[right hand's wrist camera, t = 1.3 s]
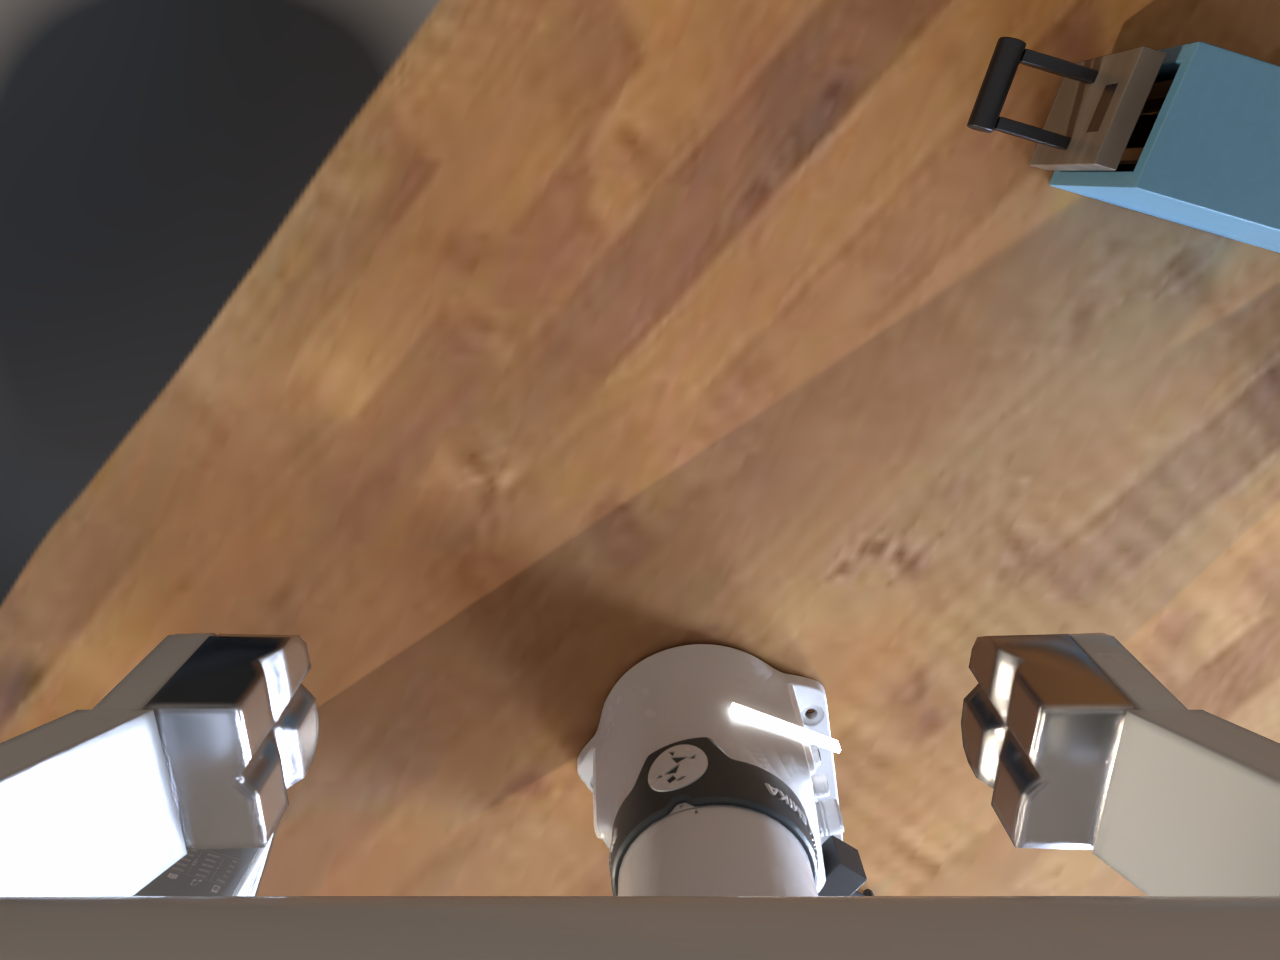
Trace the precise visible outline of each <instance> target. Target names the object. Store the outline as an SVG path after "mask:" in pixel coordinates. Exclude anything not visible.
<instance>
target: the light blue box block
mask: <svg viewBox="0 0 1280 960" xmlns="http://www.w3.org/2000/svg"><path fill="white" fill-rule="evenodd" d="M1159 51H1161V52H1165V53H1166V56H1165V58H1164V61H1163V63H1162V65H1161V68H1160V70H1159V72H1158V74H1157V77H1156V79H1155V81H1154V83H1155V82H1161V81H1167V80H1173V79H1174V80H1173V83H1172V85H1171V87H1170V89H1169V92H1168V94H1167V96H1166V99H1165V101H1164V103H1163V105H1162V108H1161V110H1160V112H1159V114H1158V117H1157V119H1156V121H1155V124H1154V126H1153V128H1152V130H1151V133H1150V135H1149V137H1148V140H1147V142H1146V144H1145V146H1144V149H1143V151H1142V153H1141V156H1140V158H1139V160H1138V162H1137V165H1136V167H1135V169H1134V171H1054V173H1053V175H1052V178H1051V180H1050V183H1049V185H1050V186H1053V187H1057V188H1060V189H1063V190H1067V191H1070V192H1074V193H1077V194H1080V195H1084V196H1087V197H1091V198H1094V199H1098V200H1101V201H1104V202H1108V203H1111V204H1115V205H1118V206H1121V207H1125V208H1128V209H1132V210H1135V211H1138V212H1142V213H1145V214H1149V215H1152V216H1155V217H1159V218H1162V219H1166V220H1169V221H1172V222H1176V223H1179V224H1183V225H1186V226H1189V227H1193V228H1196V229H1200V230H1203V231H1207V232H1210V233H1213V234H1217V235H1220V236H1224V237H1227V238H1230V239H1234V240H1237V241H1241V242H1244V243H1247V244H1251V245H1254V246H1258V247H1261V248H1264V249H1268V250H1271V251H1275V252H1278V253H1280V66H1278V65H1274V64H1271V63H1268V62H1265V61H1262V60H1259V59H1255V58H1252V57H1249V56H1246V55H1243V54H1240V53H1236V52H1233V51H1230V50H1227V49H1224V48H1220V47H1217V46H1214V45H1211V44H1208V43H1205V42H1201V41H1198V42H1194V43H1189V44H1185V45H1180V46H1176V47H1172V48H1167V49H1163V50H1159Z"/></svg>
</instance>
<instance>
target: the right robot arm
mask: <svg viewBox="0 0 1280 960" xmlns="http://www.w3.org/2000/svg"><path fill="white" fill-rule="evenodd" d="M310 669H311V664H310V659H309V654H308V648H307V643H306V642H305V641H304V640H303V639H302V638H301V637H300V636H299V635H256V634H214V633H193V634H175V635H169V636H167V637H166V638H165V639H164V640H163V641H162V642H161V643H160V644H159V645H158V646H157V647H156V648H155V649H154V650H153V651H152V652H150V653H149V654H148V655H147V656H146V657H145V658H144V659H143V660H142V661H141V662H140V663H139V664H138V665H137V666H136V667H135V668H134V669H133V670H132V671H131V672H130V673H129V674H128V675H127V676H126V677H125V678H124V679H123V680H122V681H121V682H120V683H119V684H118V685H117V686H116V687H115V688H114V689H113V690H112V691H111V692H109V693H108V694H107V695H106V696H105V697H104V698H103V699H102V700H101V701H100V702H99V703H98V704H97V705H96V706H95V707H94V708H93V709H92V710H76V711H74V712H72V713H70V714H67V715H65V716H63V717H60V718H58V719H56V720H53V721H51V722H49V723H46V724H44V725H42V726H40V727H37V728H35V729H33V730H30V731H28V732H26V733H23V734H21V735H19V736H17V737H14V738H12V739H10V740H7V741H5V742H3V743H0V960H1280V744H1279V743H1277V742H1275V741H1273V740H1270V739H1268V738H1266V737H1263V736H1261V735H1259V734H1256V733H1254V732H1252V731H1250V730H1247V729H1245V728H1243V727H1240V726H1238V725H1236V724H1233V723H1231V722H1229V721H1227V720H1224V719H1222V718H1220V717H1217V716H1215V715H1213V714H1210V713H1208V712H1206V711H1204V710H1188V709H1187V708H1186V707H1185V706H1184V705H1183V704H1182V703H1181V702H1180V701H1179V700H1178V699H1177V698H1176V697H1175V696H1174V695H1173V694H1172V693H1171V692H1170V691H1169V690H1168V689H1167V688H1166V687H1164V686H1163V685H1162V684H1161V683H1160V682H1159V681H1158V680H1157V679H1156V678H1155V677H1154V676H1153V675H1152V674H1151V673H1150V672H1149V671H1148V670H1147V669H1146V668H1145V667H1144V666H1143V665H1142V664H1141V663H1140V662H1139V661H1138V660H1137V659H1136V658H1135V657H1134V656H1133V655H1132V654H1131V653H1130V652H1129V651H1128V650H1127V649H1126V648H1125V647H1124V646H1123V645H1122V644H1121V643H1120V642H1119V641H1117V640H1116V639H1115V638H1114V637H1113V636H1110V635H1107V634H1105V633H1085V634H1051V635H1011V636H983V637H977V639H976V641H975V644H974V646H973V648H972V652H971V657H970V663H969V669H970V670H971V672H972V673H973V675H974V676H975V678H976V679H977V681H978V682H979V684H978V685H977V686H976V687H975V688H974V689H973V690H972V691H971V692H970V693H969V694H968V695H967V696H966V697H965V698H964V701H963V710H962V718H961V729H962V740H963V747H964V750H965V754H966V757H967V760H968V763H969V765H970V767H971V769H972V770H973V772H974V774H975V776H976V778H978V779H979V780H981V781H982V782H984V783H985V784H987V785H989V786H990V787H992V788H993V789H994V791H993V796H992V802H991V805H992V807H993V809H994V811H995V812H996V814H997V816H998V818H999V819H1000V821H1001V823H1002V825H1003V827H1004V828H1005V830H1006V832H1007V834H1008V835H1009V837H1010V839H1011V841H1012V843H1013V844H1014V846H1015V848H1047V849H1083V850H1093V854H1094V855H1096V856H1097V857H1098V858H1099V859H1101V860H1102V861H1103V862H1105V863H1106V864H1107V865H1108V866H1110V867H1111V868H1112V869H1114V870H1115V871H1116V872H1117V873H1119V874H1120V875H1121V876H1123V877H1124V878H1125V879H1127V880H1128V881H1129V882H1130V883H1132V884H1133V885H1134V886H1136V887H1137V888H1138V889H1139V890H1141V891H1142V892H1143V893H1145V894H1146V895H1147V896H874V894H873V892H872V891H871V890H869V889H867V890H865V891H864V892H863V894H861V893H860V892H858V891H857V889H858V888H859V887H860V886H861V885H862V884H863V883H864V882H865V881H866V880H867V878H866V875H865V872H864V869H863V865H862V862H861V859H860V856H859V853H858V850H856V849H855V848H853V847H851V846H850V845H848V844H846V843H845V842H843V834H842V833H843V832H844V826H843V821H842V816H841V812H840V808H839V800H838V792H837V784H836V775H835V767H834V758H833V752H836V753H840V751H841V748H840V745H839V742H838V740H835V739H832V738H831V733H830V725H829V716H828V708H827V700H826V694H825V689H824V687H823V686H822V684H820V683H819V682H818V681H816V680H813V679H810V678H806V677H802V676H797V675H792V674H785V673H782V672H780V671H778V670H776V669H774V668H772V667H771V666H769V665H768V664H766V663H765V662H763V661H761V660H760V659H758V658H756V657H754V656H753V655H750V654H748V653H746V652H743V651H741V650H738V649H734V648H731V647H726V646H721V645H712V644H692V645H684V646H678V647H674V648H670V649H666V650H663V651H661V652H658V653H656V654H653V655H651V656H649V657H647V658H645V659H644V660H642V661H640V662H639V663H637V664H636V665H635V666H633V667H632V668H631V669H629V670H628V671H627V672H626V673H625V674H624V675H623V676H622V677H621V678H620V679H619V680H618V681H617V683H616V684H615V685H614V687H613V688H612V690H611V691H610V693H609V695H608V697H607V699H606V701H605V704H604V706H603V709H602V713H601V718H600V722H599V726H598V729H597V731H596V734H595V735H594V736H593V737H592V739H591V740H590V741H589V742H588V743H587V745H586V746H585V747H584V748H583V750H582V751H581V753H580V754H579V756H578V759H577V771H578V775H579V776H580V778H581V779H582V781H583V782H584V783H585V784H586V786H587V787H588V788H589V789H590V791H591V792H592V793H593V800H594V829H595V833H596V836H597V837H598V838H600V839H603V841H604V843H605V844H606V846H607V847H608V848H609V849H610V852H609V868H610V874H611V885H612V891H613V895H614V896H133V895H134V894H136V893H137V892H138V891H140V890H141V889H142V888H143V887H145V886H146V885H147V884H149V883H150V882H151V881H153V880H154V879H155V878H156V877H158V876H159V875H160V874H162V873H163V872H164V871H165V870H167V869H168V868H169V867H171V866H172V865H173V864H174V863H176V862H177V861H178V860H180V859H181V858H182V857H184V856H185V855H186V854H187V850H196V849H232V848H265V846H266V845H267V843H268V841H269V839H270V837H271V836H272V834H273V832H274V830H275V828H276V827H277V825H278V823H279V821H280V820H281V818H282V816H283V814H284V812H285V811H286V809H287V807H288V805H289V802H288V796H287V791H286V789H287V788H288V787H290V786H291V785H293V784H295V783H296V782H298V781H299V780H301V779H302V778H304V776H305V774H306V772H307V770H308V768H309V767H310V765H311V763H312V761H313V757H314V753H315V749H316V745H317V740H318V731H319V715H318V708H317V701H316V698H315V697H314V696H313V695H312V694H311V693H310V692H309V691H308V690H307V689H306V688H305V687H304V686H303V685H302V684H301V683H302V681H303V679H304V678H305V676H306V675H307V673H308V672H309V670H310ZM809 709H815V710H814V711H813V712H812V713H806V711H807V710H809Z"/></svg>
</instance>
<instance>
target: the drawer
mask: <svg viewBox="0 0 1280 960" xmlns="http://www.w3.org/2000/svg"><path fill="white" fill-rule="evenodd" d="M1025 46H1026V43H1025V42H1023V41H1022V40H1019V39H1016V38H1011V37H1001V38H999V40H998V42H997V45H996V48H995V50H994V53H993V56H992V59H991V61H990V64H989V67H988V69H987V72H986V75H985V78H984V80H983V83H982V86H981V88H980V91H979V94H978V97H977V99H976V102H975V105H974V107H973V110H972V113H971V116H970V118H969V121H968V124H967V126H968V127H969V128H971V129H974V130H977V131H981V132H987V133H991V132H993V131H994V130H996V131H999V132H1003V133H1006V134H1009V135H1013V136H1016V137H1020V138H1023V139H1026V140H1030V141H1033V142H1036V143H1037V145H1036V148H1035V150H1034V153H1033V155H1032V158H1031V160H1030V163H1029V165H1030V166H1033V167H1037V168H1040V169H1043V170H1047V171H1134V169H1135V167H1136V165H1137V162H1138V160H1139V158H1140V156H1141V153H1142V151H1143V149H1144V146H1145V144H1146V142H1147V140H1148V137H1149V135H1150V133H1151V130H1152V128H1153V126H1154V124H1155V121H1156V119H1157V117H1158V114H1159V112H1160V110H1161V108H1162V105H1163V103H1164V101H1165V99H1166V96H1167V94H1168V92H1169V89H1170V87H1171V85H1172V83H1173V80H1174V79H1173V80H1167V81H1161V82H1155V83H1154V81H1155V79H1156V77H1157V74H1158V72H1159V70H1160V68H1161V65H1162V63H1163V61H1164V58H1165V56H1166V53H1165V52H1161V51H1158V50H1155V49H1152V48H1149V47H1145V46H1142V47H1138V48H1134V49H1130V50H1126V51H1122V52H1118V53H1114V54H1110V55H1106V56H1102V57H1098V58H1094V59H1090V60H1086V61H1082V62H1078V63H1071V62H1068V61H1065V60H1062V59H1058V58H1055V57H1052V56H1049V55H1045V54H1042V53H1039V52H1036V51H1032V50H1029V49H1025ZM1019 63H1020V64H1023V65H1027V66H1030V67H1033V68H1036V69H1040V70H1043V71H1046V72H1050V73H1053V74H1056V75H1059V76H1063V80H1062V82H1061V85H1060V87H1059V90H1058V92H1057V95H1056V98H1055V100H1054V103H1053V105H1052V108H1051V110H1050V113H1049V115H1048V118H1047V120H1046V123H1045V125H1044V128H1043V129H1040V128H1037V127H1034V126H1030V125H1027V124H1024V123H1020V122H1017V121H1014V120H1010V119H1007V118H1004V117H999V115H1000V112H1001V110H1002V107H1003V104H1004V102H1005V99H1006V97H1007V94H1008V91H1009V89H1010V86H1011V83H1012V81H1013V78H1014V75H1015V73H1016V70H1017V68H1018V65H1019Z"/></svg>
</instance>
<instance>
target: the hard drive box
mask: <svg viewBox="0 0 1280 960" xmlns="http://www.w3.org/2000/svg"><path fill="white" fill-rule="evenodd" d="M272 837H273V834H272V836H271V837H270V839H269V841H268V843H267V845H266V846H265V848H232V849H196V850H187V854H186V855H185V856H184V857H182V858H181V859H180V860H178V861H177V862H176V863H174V864H173V865H172V866H171V867H169V868H168V869H167V870H165V871H164V872H163V873H162V874H160V875H159V876H158V877H156V878H155V879H154V880H153V881H151V882H150V883H149V884H147V885H146V886H145V887H143V888H142V889H141V890H140V891H138V892H137V893H136V894H134V895H133V896H255V892H256V889H257V886H258V883H259V880H260V877H261V873H262V870H263V867H264V864H265V861H266V857H267V853H268V850H269V847H270V844H271V840H272Z"/></svg>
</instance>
